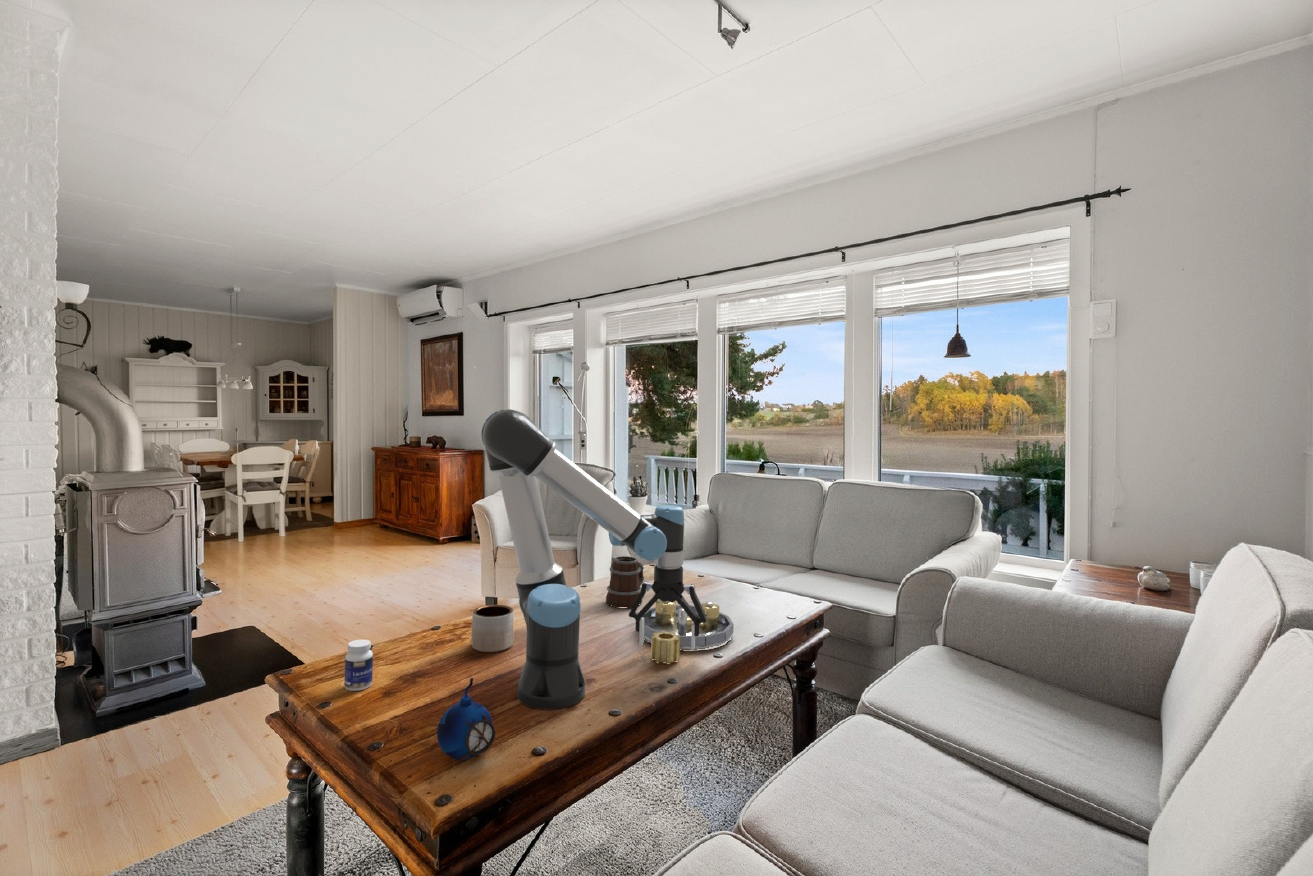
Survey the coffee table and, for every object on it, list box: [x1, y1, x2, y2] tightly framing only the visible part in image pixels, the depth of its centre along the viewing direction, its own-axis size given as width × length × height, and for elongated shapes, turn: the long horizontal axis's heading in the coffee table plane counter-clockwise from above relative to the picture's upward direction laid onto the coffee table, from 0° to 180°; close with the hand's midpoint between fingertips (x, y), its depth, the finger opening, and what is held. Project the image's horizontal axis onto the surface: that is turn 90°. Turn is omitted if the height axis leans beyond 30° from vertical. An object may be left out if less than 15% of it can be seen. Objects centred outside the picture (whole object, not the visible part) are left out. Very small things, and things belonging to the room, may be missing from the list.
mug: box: [605, 555, 645, 609], centre depth 208 cm, size 16×12×15 cm
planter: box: [470, 604, 514, 654], centre depth 166 cm, size 11×11×10 cm
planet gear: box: [650, 631, 681, 664], centre depth 161 cm, size 7×7×6 cm
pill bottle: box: [343, 639, 374, 692], centre depth 140 cm, size 6×6×10 cm
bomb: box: [436, 677, 497, 761], centre depth 113 cm, size 10×11×15 cm
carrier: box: [641, 599, 734, 650], centre depth 180 cm, size 27×27×10 cm
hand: (667, 646), depth 161 cm, fingers open, 13 cm apart
